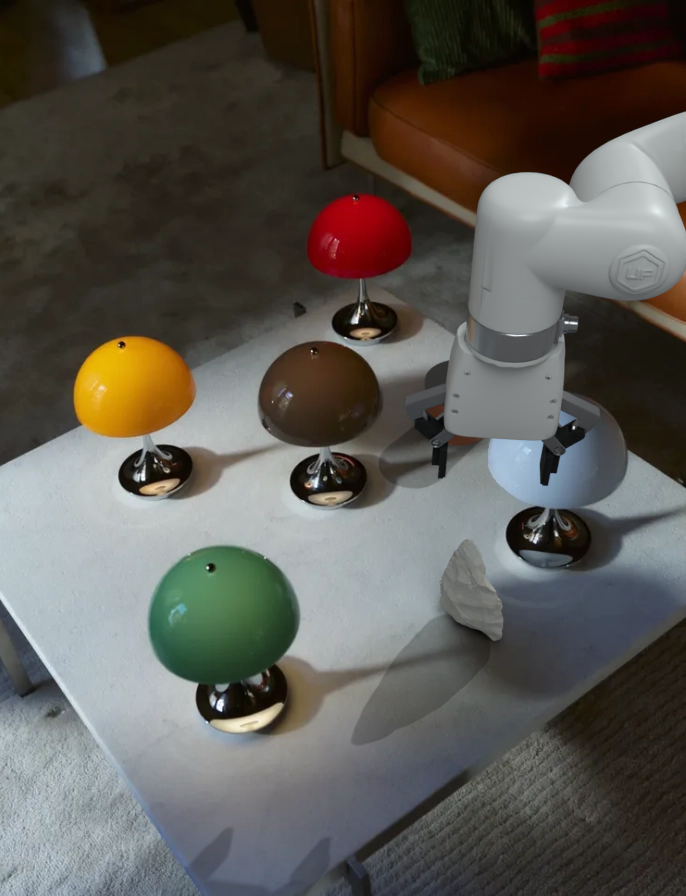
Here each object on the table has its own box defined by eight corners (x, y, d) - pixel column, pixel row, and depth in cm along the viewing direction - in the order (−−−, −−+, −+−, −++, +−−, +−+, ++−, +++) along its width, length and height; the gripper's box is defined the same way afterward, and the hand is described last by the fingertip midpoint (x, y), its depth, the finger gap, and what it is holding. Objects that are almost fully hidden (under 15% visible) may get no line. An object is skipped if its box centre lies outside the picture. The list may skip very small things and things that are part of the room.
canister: (492, 402, 136) (496, 360, 130) (491, 448, 129) (496, 406, 124) (425, 399, 137) (426, 357, 131) (420, 444, 130) (422, 402, 125)
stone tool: (431, 617, 110) (436, 533, 99) (446, 601, 112) (452, 515, 101) (494, 655, 106) (506, 570, 95) (508, 637, 108) (522, 552, 97)
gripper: (616, 304, 80) (582, 451, 92) (410, 295, 82) (405, 439, 94) (623, 360, 75) (587, 507, 87) (404, 348, 77) (399, 493, 89)
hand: (492, 471), depth 91 cm, fingers open, 9 cm apart
